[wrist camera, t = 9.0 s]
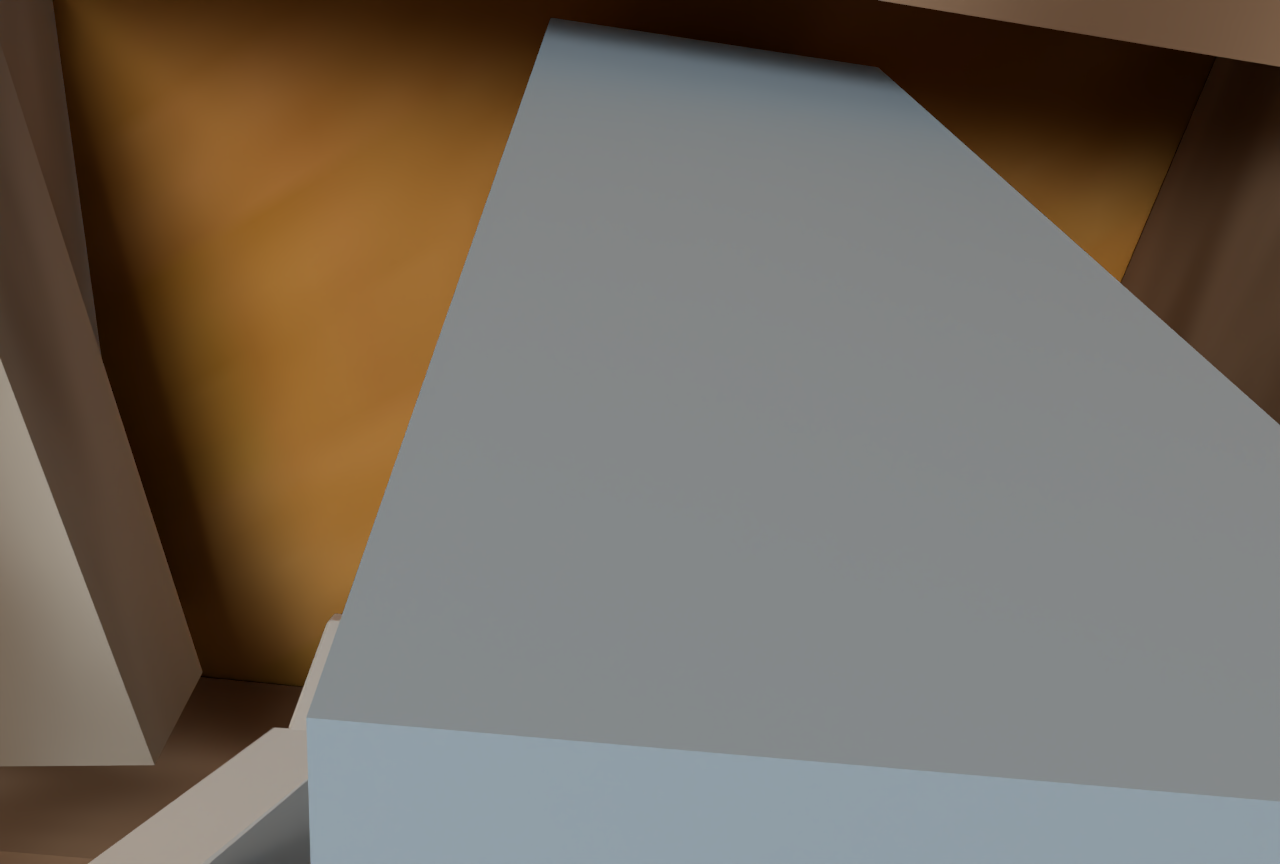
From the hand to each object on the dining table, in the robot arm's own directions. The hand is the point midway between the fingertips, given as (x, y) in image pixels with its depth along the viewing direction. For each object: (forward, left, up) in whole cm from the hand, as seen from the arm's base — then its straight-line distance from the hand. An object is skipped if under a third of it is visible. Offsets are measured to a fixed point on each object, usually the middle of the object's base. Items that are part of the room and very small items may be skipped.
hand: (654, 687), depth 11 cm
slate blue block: (0, 0, -5) cm, 5 cm away
